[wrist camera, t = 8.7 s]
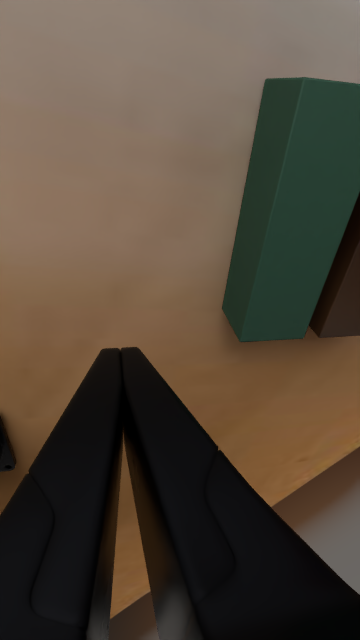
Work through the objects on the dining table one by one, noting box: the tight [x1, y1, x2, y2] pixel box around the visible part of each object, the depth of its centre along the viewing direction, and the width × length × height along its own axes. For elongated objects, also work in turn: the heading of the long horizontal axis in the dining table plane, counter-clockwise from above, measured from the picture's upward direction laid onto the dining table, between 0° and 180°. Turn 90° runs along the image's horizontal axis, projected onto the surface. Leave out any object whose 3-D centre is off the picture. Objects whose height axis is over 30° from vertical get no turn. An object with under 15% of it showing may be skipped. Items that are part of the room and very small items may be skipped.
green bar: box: [222, 77, 360, 342], centre depth 17 cm, size 12×4×4 cm, turn 175°
